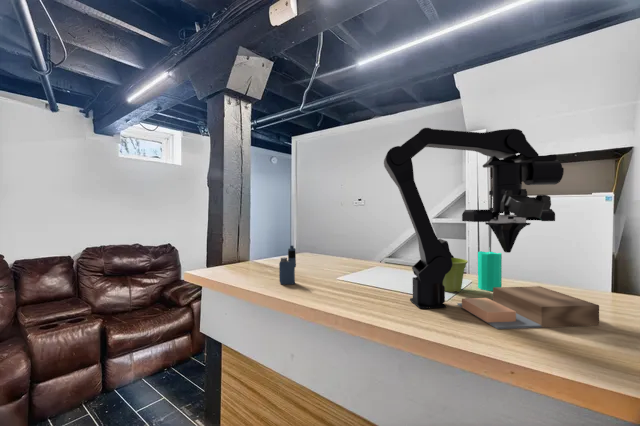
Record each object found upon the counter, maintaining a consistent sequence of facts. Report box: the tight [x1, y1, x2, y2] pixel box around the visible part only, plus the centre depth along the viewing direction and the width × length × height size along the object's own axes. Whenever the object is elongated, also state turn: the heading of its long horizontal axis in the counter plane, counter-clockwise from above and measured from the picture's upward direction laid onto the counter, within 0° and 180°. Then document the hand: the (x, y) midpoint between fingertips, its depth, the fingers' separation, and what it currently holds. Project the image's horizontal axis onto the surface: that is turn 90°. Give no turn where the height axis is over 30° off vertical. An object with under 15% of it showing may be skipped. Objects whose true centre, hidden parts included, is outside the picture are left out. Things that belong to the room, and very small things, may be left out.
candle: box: [477, 247, 503, 292], centre depth 83 cm, size 6×6×12 cm
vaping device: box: [278, 245, 297, 285], centre depth 90 cm, size 3×5×12 cm, turn 89°
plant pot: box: [443, 257, 469, 293], centre depth 82 cm, size 9×9×9 cm
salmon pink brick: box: [461, 297, 516, 323], centre depth 62 cm, size 6×9×2 cm, turn 4°
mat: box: [456, 302, 543, 330], centre depth 62 cm, size 9×14×1 cm, turn 4°
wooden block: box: [492, 285, 600, 328], centre depth 63 cm, size 12×14×4 cm
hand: (507, 252), depth 67 cm, fingers closed
